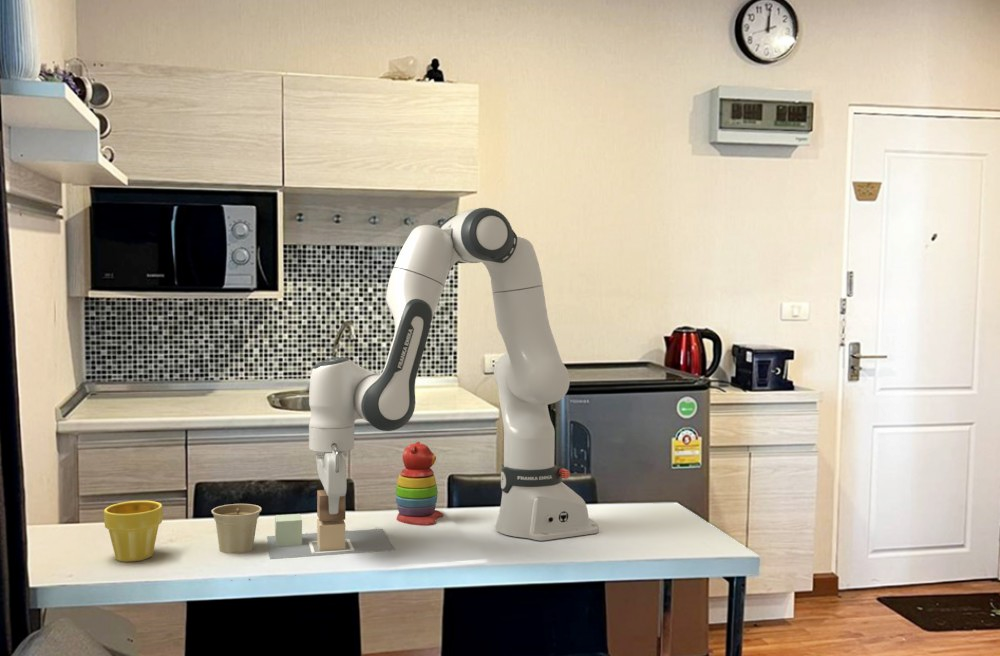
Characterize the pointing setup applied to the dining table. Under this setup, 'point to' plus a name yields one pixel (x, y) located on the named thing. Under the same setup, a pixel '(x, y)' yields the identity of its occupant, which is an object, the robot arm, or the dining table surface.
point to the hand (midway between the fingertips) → (331, 509)
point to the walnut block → (323, 507)
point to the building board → (355, 536)
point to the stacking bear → (417, 487)
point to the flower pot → (236, 527)
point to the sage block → (288, 530)
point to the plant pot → (133, 528)
